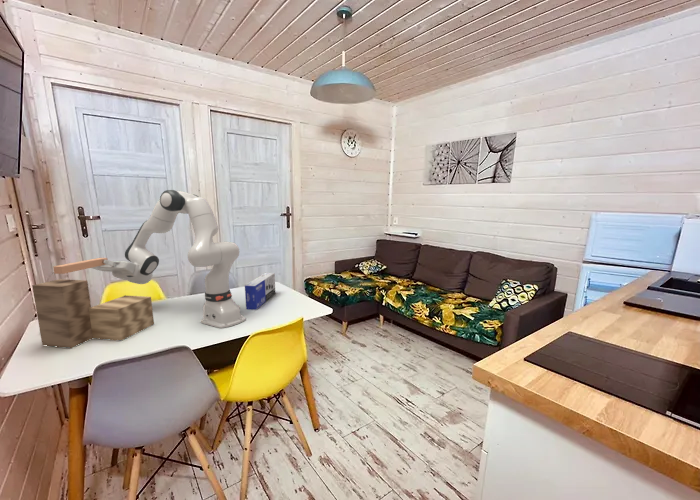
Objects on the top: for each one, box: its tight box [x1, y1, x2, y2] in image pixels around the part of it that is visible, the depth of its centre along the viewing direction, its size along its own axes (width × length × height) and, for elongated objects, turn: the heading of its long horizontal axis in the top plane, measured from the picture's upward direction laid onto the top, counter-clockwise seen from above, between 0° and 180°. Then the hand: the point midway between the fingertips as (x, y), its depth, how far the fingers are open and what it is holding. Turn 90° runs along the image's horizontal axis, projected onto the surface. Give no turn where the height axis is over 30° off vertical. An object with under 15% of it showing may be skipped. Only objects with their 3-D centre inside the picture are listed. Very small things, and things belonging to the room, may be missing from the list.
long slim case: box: [53, 257, 108, 275], centre depth 133 cm, size 20×4×3 cm, turn 172°
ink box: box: [244, 272, 276, 311], centre depth 181 cm, size 30×7×14 cm, turn 173°
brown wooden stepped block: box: [31, 278, 155, 349], centre depth 133 cm, size 27×28×26 cm
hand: (98, 261), depth 140 cm, fingers closed on long slim case, 4 cm apart
